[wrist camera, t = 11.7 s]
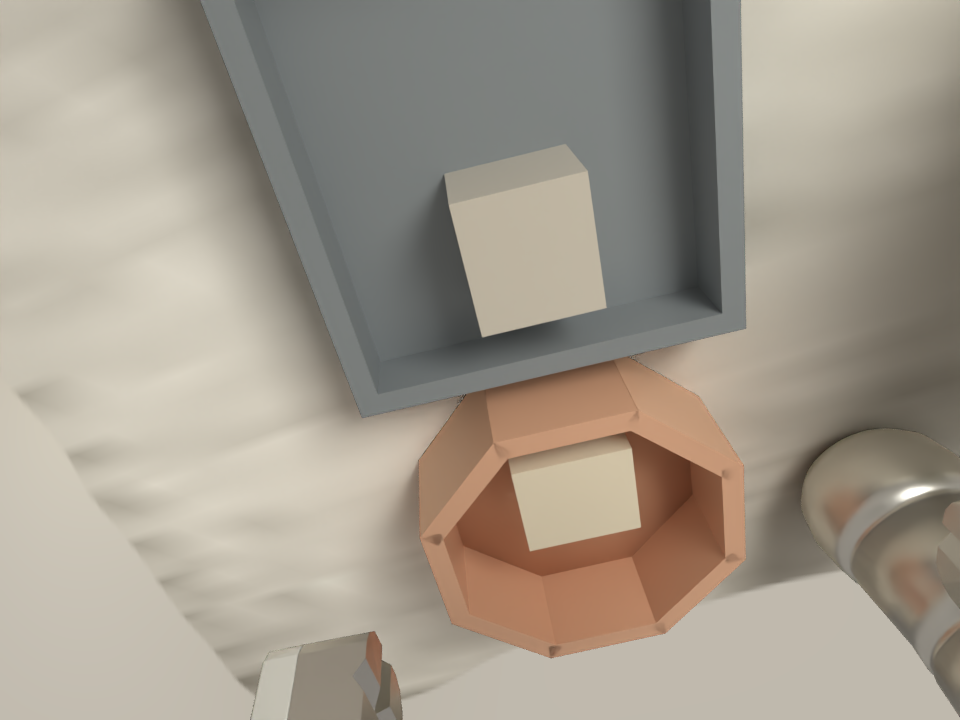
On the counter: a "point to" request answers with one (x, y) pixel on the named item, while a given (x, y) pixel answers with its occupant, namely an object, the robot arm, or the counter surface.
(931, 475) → the silver metal bottle
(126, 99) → the counter surface
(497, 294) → the cream matte cube
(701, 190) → the slate tray
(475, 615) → the terracotta bowl
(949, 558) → the robot arm
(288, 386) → the counter surface
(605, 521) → the tan block
